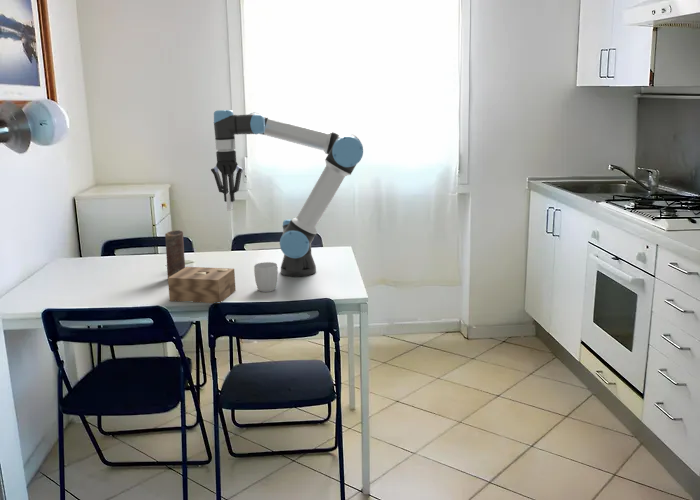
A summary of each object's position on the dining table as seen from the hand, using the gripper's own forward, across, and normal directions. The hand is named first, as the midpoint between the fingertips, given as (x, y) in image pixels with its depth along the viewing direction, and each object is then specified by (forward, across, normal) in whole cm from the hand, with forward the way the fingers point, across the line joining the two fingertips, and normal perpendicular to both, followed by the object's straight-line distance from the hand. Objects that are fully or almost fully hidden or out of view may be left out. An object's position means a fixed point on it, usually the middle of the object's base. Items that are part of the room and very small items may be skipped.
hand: (230, 209), depth 269 cm
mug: (+31, -15, +7) cm, 35 cm away
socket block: (+30, +6, +19) cm, 36 cm away
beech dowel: (+30, +6, +19) cm, 36 cm away
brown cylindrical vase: (+30, +26, -2) cm, 40 cm away
